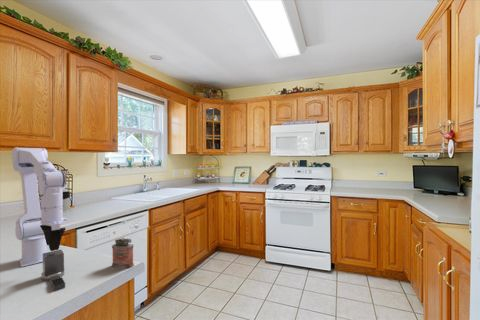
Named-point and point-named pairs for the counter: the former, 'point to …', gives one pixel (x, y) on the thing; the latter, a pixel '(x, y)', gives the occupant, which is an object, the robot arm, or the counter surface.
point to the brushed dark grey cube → (53, 262)
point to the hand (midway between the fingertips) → (52, 247)
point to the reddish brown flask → (122, 253)
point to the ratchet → (55, 280)
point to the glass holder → (66, 201)
